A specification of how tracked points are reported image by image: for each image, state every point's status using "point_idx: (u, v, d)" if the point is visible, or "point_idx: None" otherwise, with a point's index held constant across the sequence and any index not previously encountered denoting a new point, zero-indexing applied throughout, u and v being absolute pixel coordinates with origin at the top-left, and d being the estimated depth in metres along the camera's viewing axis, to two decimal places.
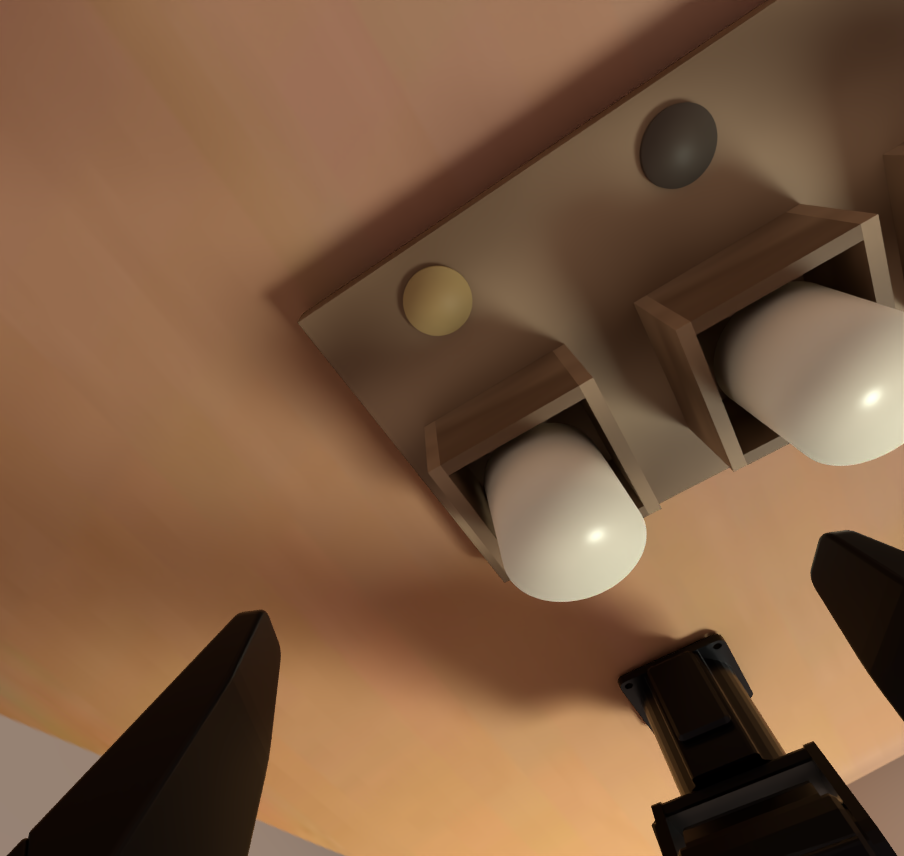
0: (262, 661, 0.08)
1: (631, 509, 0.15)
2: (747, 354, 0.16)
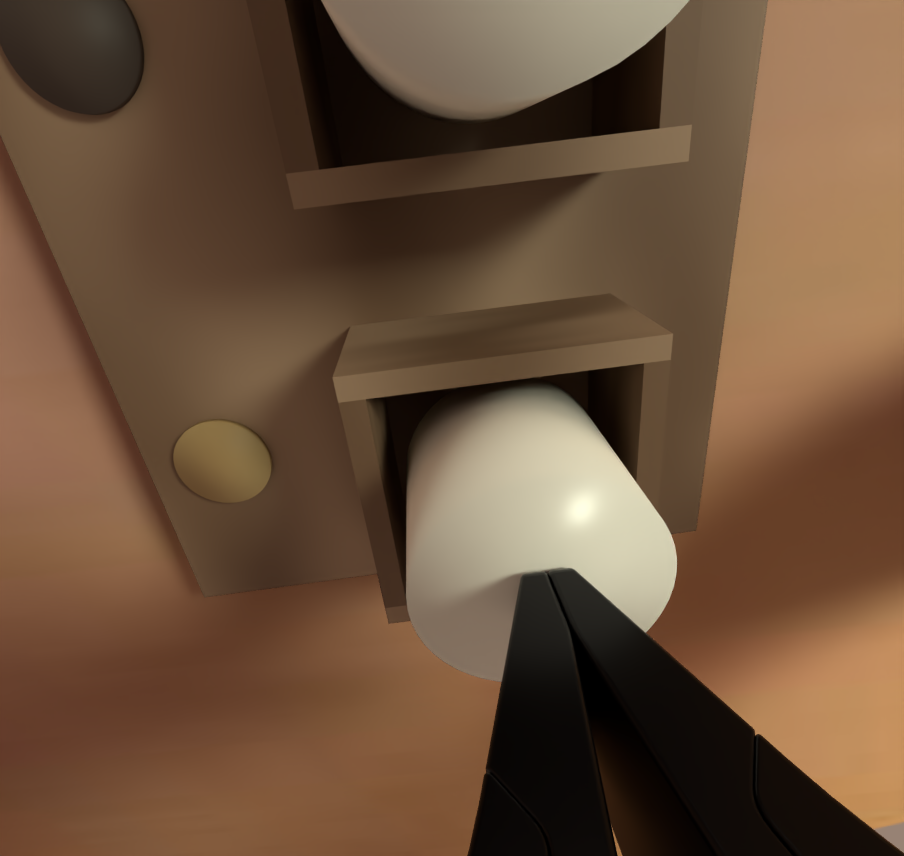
0: None
1: (515, 490, 0.08)
2: (381, 78, 0.07)
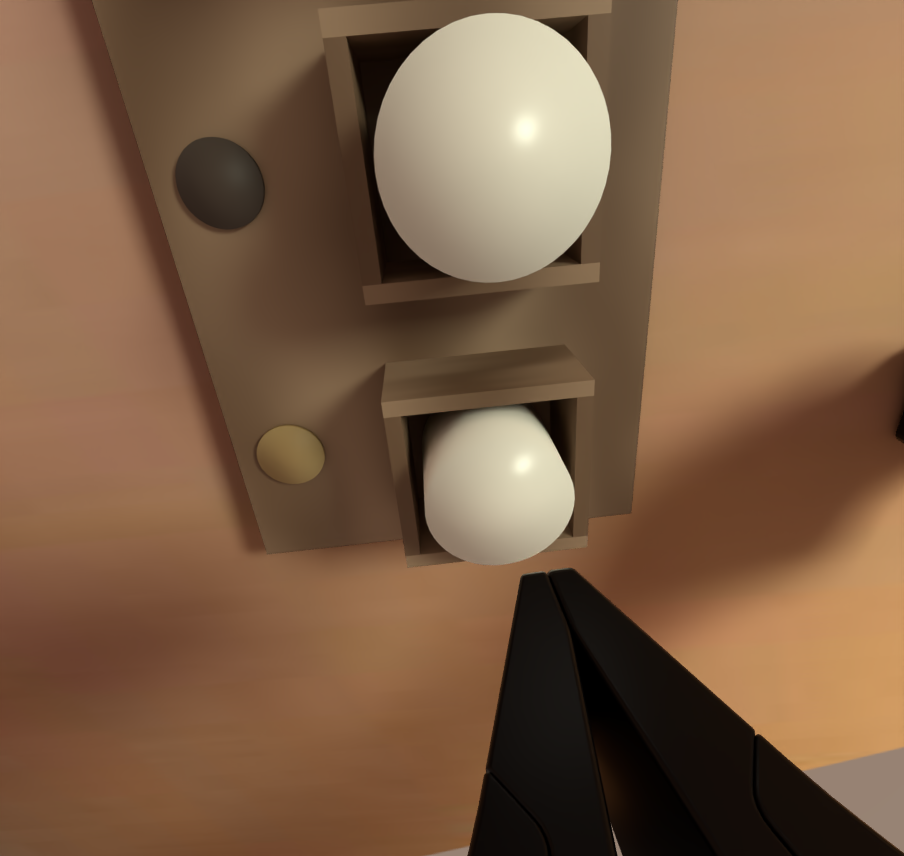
0: None
1: (485, 447, 0.14)
2: None
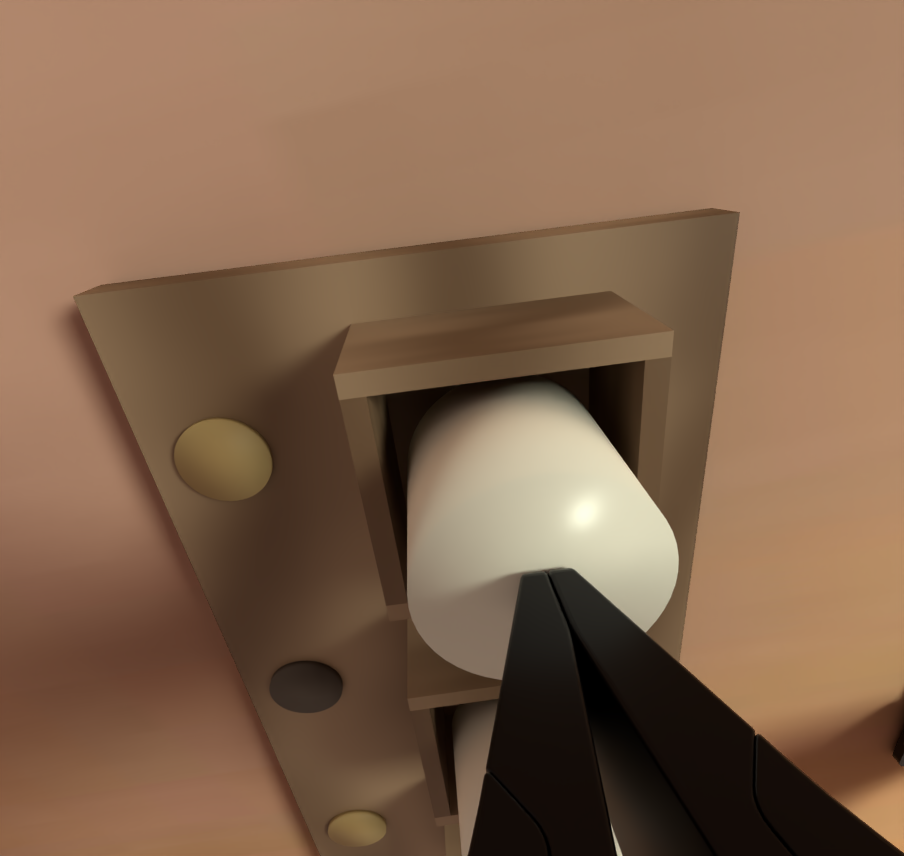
0: None
1: None
2: None
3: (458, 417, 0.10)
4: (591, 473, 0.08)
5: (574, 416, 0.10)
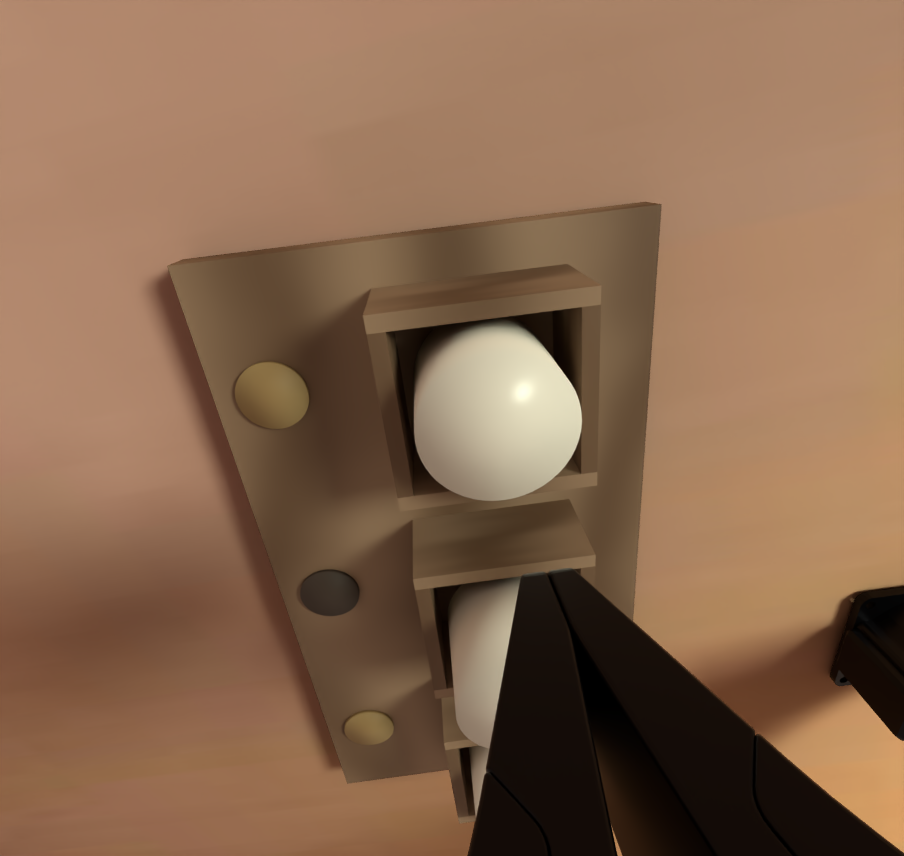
0: None
1: None
2: None
3: (447, 333, 0.15)
4: (524, 351, 0.13)
5: (522, 331, 0.15)
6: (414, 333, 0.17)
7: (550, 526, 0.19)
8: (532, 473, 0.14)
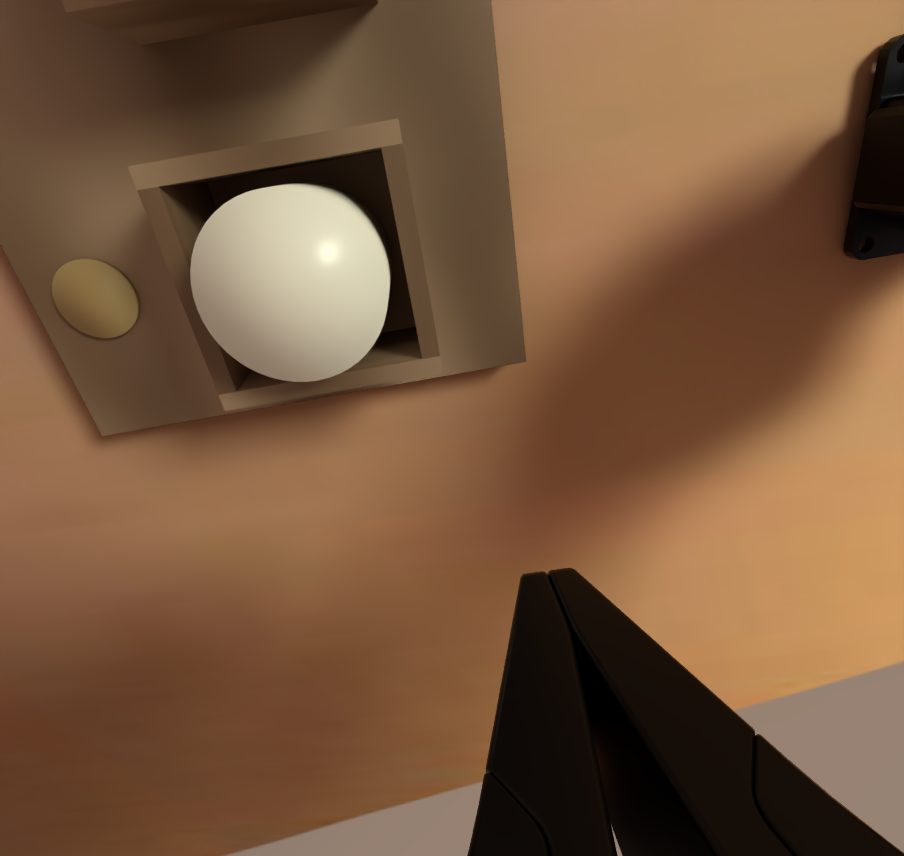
0: None
1: (247, 200, 0.11)
2: None
3: None
4: None
5: None
6: None
7: None
8: None
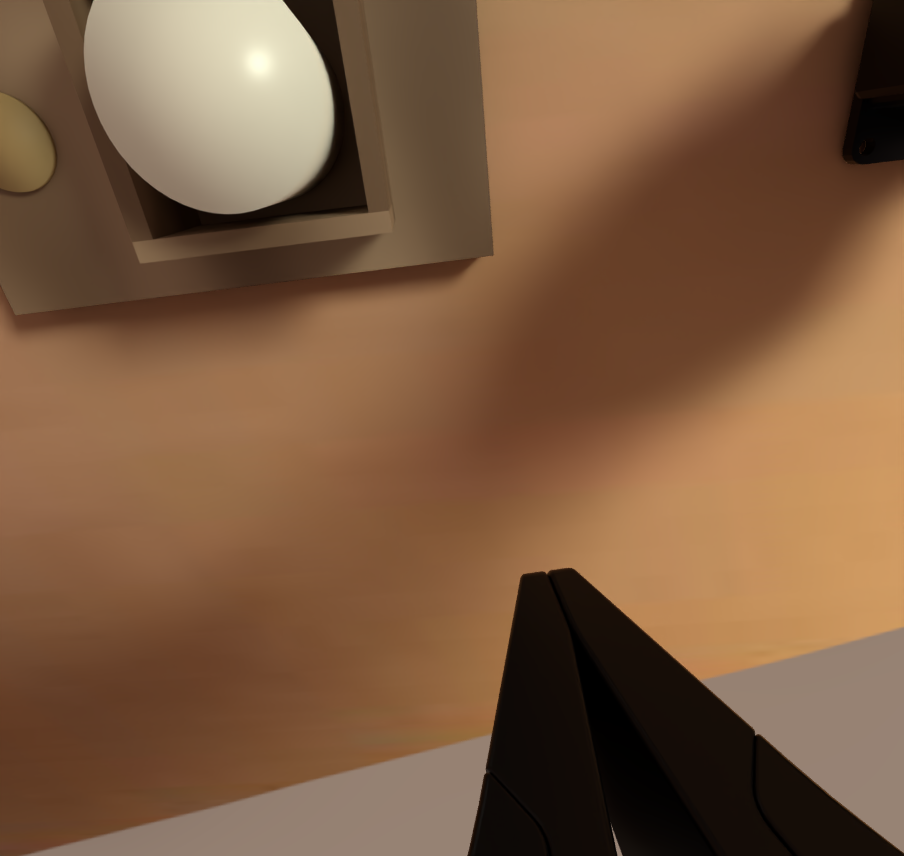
0: None
1: None
2: None
3: None
4: None
5: None
6: None
7: None
8: None
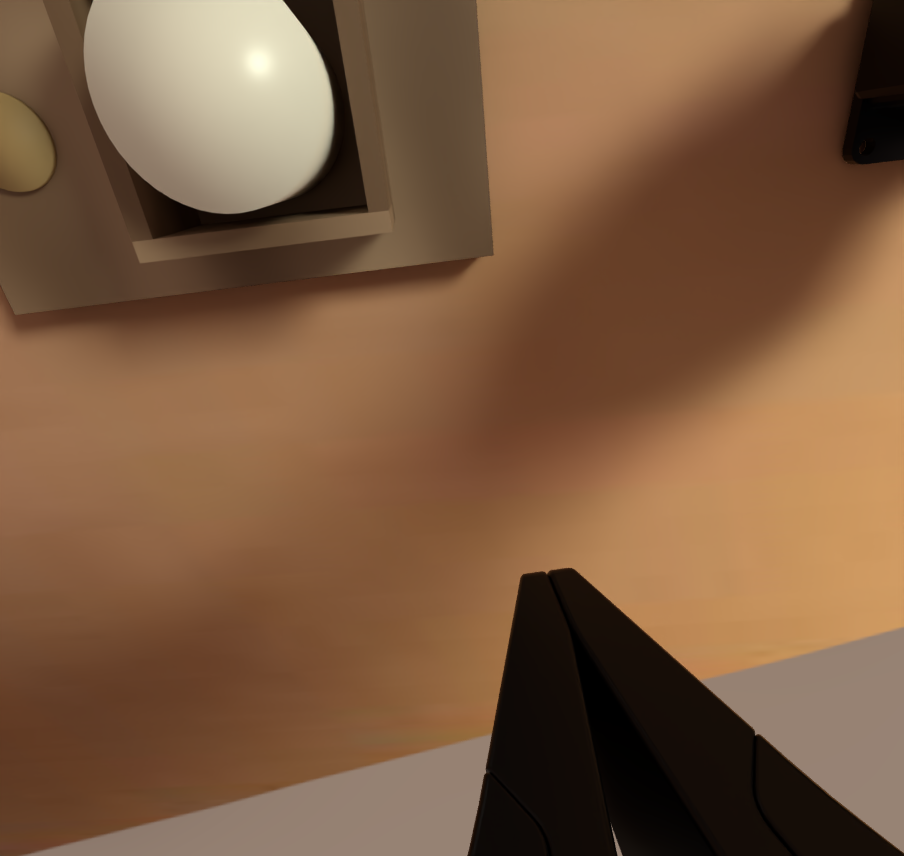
0: None
1: None
2: None
3: None
4: None
5: None
6: None
7: None
8: None
